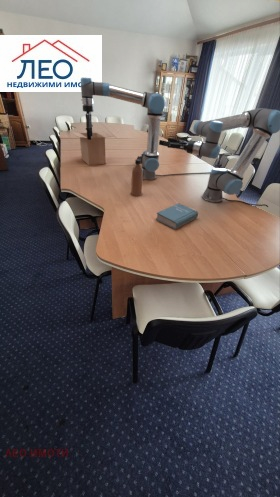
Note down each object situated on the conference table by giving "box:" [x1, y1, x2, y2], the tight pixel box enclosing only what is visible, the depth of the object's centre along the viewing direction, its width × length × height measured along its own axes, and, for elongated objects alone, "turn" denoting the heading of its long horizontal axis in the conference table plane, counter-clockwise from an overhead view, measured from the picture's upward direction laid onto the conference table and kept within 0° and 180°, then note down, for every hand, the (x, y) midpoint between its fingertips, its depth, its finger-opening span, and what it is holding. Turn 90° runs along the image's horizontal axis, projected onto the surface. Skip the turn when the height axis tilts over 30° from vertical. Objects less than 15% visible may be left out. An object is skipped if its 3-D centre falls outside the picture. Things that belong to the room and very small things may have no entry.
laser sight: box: [136, 153, 143, 164], centre depth 240 cm, size 10×22×10 cm, turn 78°
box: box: [70, 129, 114, 166], centre depth 229 cm, size 44×36×27 cm
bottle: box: [130, 164, 143, 197], centre depth 165 cm, size 8×8×25 cm
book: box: [155, 203, 199, 230], centre depth 142 cm, size 23×16×5 cm
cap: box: [134, 158, 142, 165], centre depth 158 cm, size 4×4×2 cm
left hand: (90, 137), depth 170 cm, fingers open, 13 cm apart
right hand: (163, 141), depth 145 cm, fingers open, 13 cm apart
